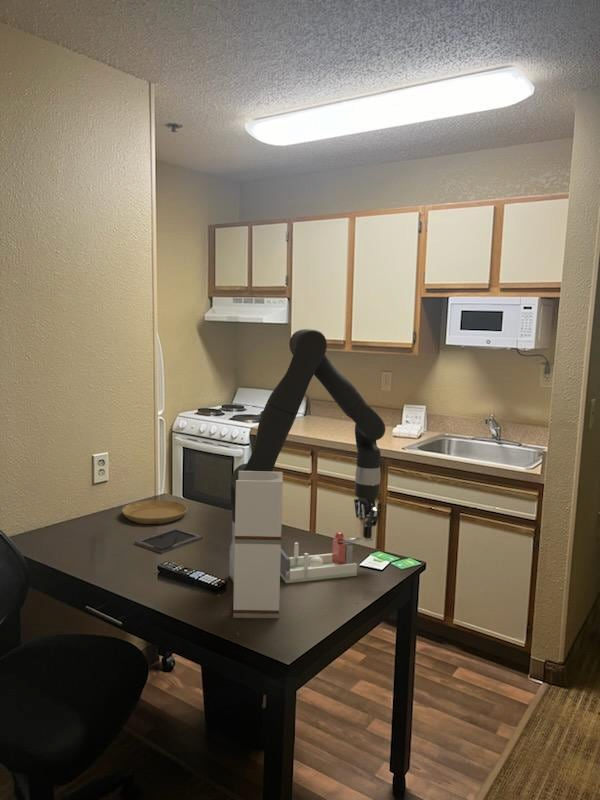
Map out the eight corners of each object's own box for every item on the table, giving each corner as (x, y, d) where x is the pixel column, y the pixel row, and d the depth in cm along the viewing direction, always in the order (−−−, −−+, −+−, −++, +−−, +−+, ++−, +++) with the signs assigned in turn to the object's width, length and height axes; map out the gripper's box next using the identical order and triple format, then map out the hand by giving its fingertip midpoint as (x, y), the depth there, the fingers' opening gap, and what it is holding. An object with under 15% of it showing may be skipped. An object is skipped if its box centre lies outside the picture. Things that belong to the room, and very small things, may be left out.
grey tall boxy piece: (278, 599, 163) (282, 471, 159) (278, 618, 153) (282, 481, 149) (236, 598, 163) (238, 470, 159) (233, 617, 152) (235, 480, 148)
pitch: (286, 583, 174) (286, 556, 173) (276, 569, 183) (276, 544, 182) (356, 575, 181) (357, 549, 180) (343, 563, 190) (344, 538, 189)
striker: (337, 567, 181) (339, 523, 180) (331, 561, 186) (332, 517, 184) (374, 563, 185) (376, 520, 184) (367, 557, 190) (369, 515, 188)
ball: (312, 572, 179) (312, 559, 179) (307, 567, 183) (308, 554, 183) (325, 571, 181) (325, 558, 180) (320, 566, 184) (320, 553, 184)
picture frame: (162, 555, 193) (202, 540, 208) (162, 549, 193) (202, 534, 207) (134, 545, 201) (175, 532, 215) (134, 539, 201) (175, 526, 215)
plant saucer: (168, 504, 248) (169, 496, 247) (199, 519, 229) (199, 510, 229) (111, 514, 232) (111, 505, 232) (139, 531, 214) (139, 522, 214)
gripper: (347, 475, 189) (344, 529, 191) (366, 487, 176) (363, 545, 178) (369, 474, 191) (366, 527, 193) (389, 486, 178) (386, 542, 180)
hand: (365, 535), depth 186 cm, fingers closed on striker, 3 cm apart
